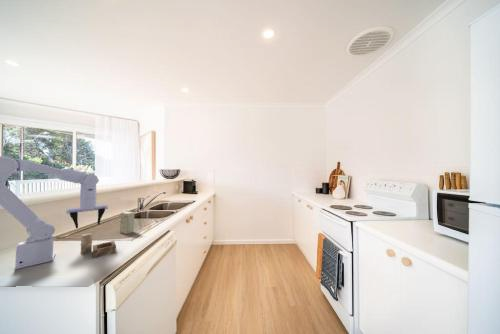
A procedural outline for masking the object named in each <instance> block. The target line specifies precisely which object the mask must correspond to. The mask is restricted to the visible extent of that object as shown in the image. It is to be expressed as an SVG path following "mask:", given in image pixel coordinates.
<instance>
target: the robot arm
mask: <svg viewBox="0 0 500 334" xmlns="http://www.w3.org/2000/svg"><path fill="white" fill-rule="evenodd" d="M15 171H17V172H24V171H25V172H26V171H31V172H37V173H42V174H46V175H51V176H56V177H57V178H58V179H59V180H60V181H64V182H69V183H74V184H80V191H79V192H80V195H79V196H80V197H79V200H80V201H79V204H80V205H79V207H73V208H68V209H67V208H66V215H69V216H70V218H71V219H72V221H73V223H74V226H75V229H78V228H79V221H78V219H79V217H78V215H79V214H78V213H85V212H92V211H97V225H100V223H101V219H102V217H103V215H104V213H105V212H106V210H107V209H108V204H102V205H101V204H99V205H97V184H98V183H99V180H100V179H99V178H98V176H97V175H96V174H93V173H88V172H87V171H80V170H78V169H75V168H74V167H69V168H68V167H64V168H63V167H62V168H61V169H60V168H57V167H53V166H50V165H46V164H42V163H39V162H35V161H32V160H27V159H22V158H12V157H10V156H3V155H2V156H0V206H1V207H3V209H4V210H6V211H7V212H8V213H9V214H10V215H11V216H12V218H14V219H16V221H18V222H19V223H20V224H22V225H23V227H24V228H25V229H26V233H27V235H28V238H27V239H26V240H25V241H22V242H18V243H17V246H16V249H15V265H14V270H18V269H21V268H27V267H31V266H35V265H40V264H45V263H48V262H53V261H54V258H55V256H56V252H54V236H55V235H54V234H55V231H56V228H55V226H54V225H52V224H50V223H49V222H48V221H44V220H43V219H42V218H40V217H39V216H38V215H37V214H36V213H35V212H34V211H33V210H32V209H31V208H30V207H29V206H28V205H27V204H26V203H25V202H23V200H21V199H20V198H19V197H18V196H17V194H15V193H14V192H13V190H11V189H10V188H9V187H8V186H7V185H6V182H7V180H8V179H9V177H10V175H12V174H13V173H14V172H15Z"/></svg>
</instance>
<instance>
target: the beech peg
mask: <svg viewBox="0 0 500 334" xmlns="http://www.w3.org/2000/svg"><path fill="white" fill-rule="evenodd" d="M80 239H81V240H80V255H87V254H88V255H89V254H91V253H93V233H84V234H82V235H81V237H80Z"/></svg>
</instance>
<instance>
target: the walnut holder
mask: <svg viewBox="0 0 500 334" xmlns="http://www.w3.org/2000/svg"><path fill="white" fill-rule="evenodd" d="M116 252H117V244H116V242H115V240H112V241H107V242H102V243H97V244H92V254H93V255H92V256H93V258H98V257H102V256H106V255H109V254H113V253H116Z"/></svg>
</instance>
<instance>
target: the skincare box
mask: <svg viewBox="0 0 500 334" xmlns="http://www.w3.org/2000/svg"><path fill="white" fill-rule="evenodd" d="M119 220H120V222H119V223H120V224H119V233H120V234H125V235H128V234H130V233H134V230H135V229H134V228H135V225H134V224H135V211H127V210H126V211H123V212H122V211H121V212H120V219H119Z"/></svg>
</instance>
